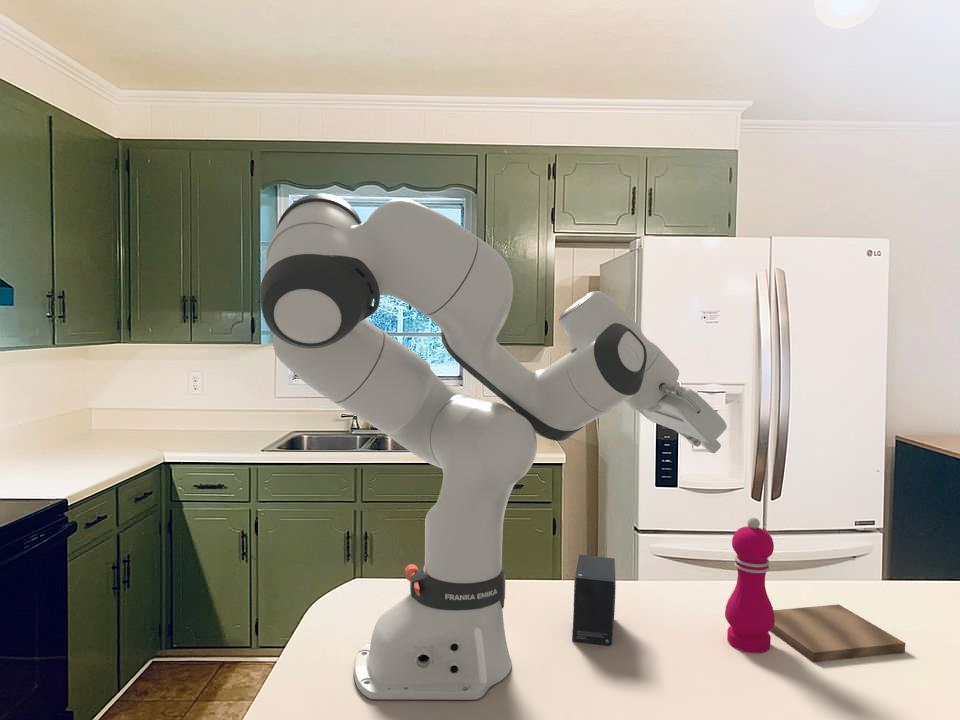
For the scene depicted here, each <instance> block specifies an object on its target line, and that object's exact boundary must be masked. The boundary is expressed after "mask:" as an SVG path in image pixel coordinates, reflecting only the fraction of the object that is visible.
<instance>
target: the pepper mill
mask: <svg viewBox="0 0 960 720" xmlns="http://www.w3.org/2000/svg"><path fill="white" fill-rule="evenodd" d="M760 525H761V523H760V520H759V519H758V518H757V517H749V518H748V519H747V525H746V526H742V527H740V528H738V529H736V531H735V532H734V533H733V536H732V539H731V546H732V549H733V551H734V552H735V554H736V555H735V556H734V560H735V562H734V563H733V564H734V566H735V567H736V569H737V577H736V578H737V579H736V584H735V587H734V588H733V591H732V593H731V594H730V596H729V598H728V600H727V603H726V605H725V611H724V618H725V620H726V622H727V624H728V625H729V626H728V628H727V632H726V633H727V634H726V635H727V637H726V638H727V642H728V644H729V645H730V646H732V647H733V648H734V649H736V650H739V651H742V652H746V653H752V654H761V653H766V652H768V651H770V649H771V641H772V637H771V634H770V633H769V632H771V631H770V630H771V629H772V628H773V627H774V624H775V615H774V611H773V610H774V608H773V605H772V603H771V602H772V601H771V600H770V598H769V595H768V593H767V590H766V589H767V588H766V573H767V572H769V570H770V566H769V565H770V560H769V558H770V556H772V555H773V553H774V549H775V548H774V547H775V545H774V541H773V537H772V536H771V534H769V532H768V531H766V530H765V529H764V528H761V527H760Z"/></svg>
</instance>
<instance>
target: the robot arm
mask: <svg viewBox="0 0 960 720" xmlns="http://www.w3.org/2000/svg"><path fill="white" fill-rule="evenodd" d="M265 260H266V263H265V268H264V274H263V275H264V276H263V277H262V280H261V284H260V288H259V302H260V303H259V304H260V310H261V313H262V317H263V320H264V322H265V323H266V325H267V327H268V328H269V329H270V331H271V332H272V333H273V337H272V346H273V350H274V353H275V355H276V357H277V358H278V359H279V361H280V362H281V363H283V364H284V366H285V367H286V368H287V369H289V371H291V372H292V373H293V374H294V375H295V376H297V377H298V378H299V379H300V380H301V381H303V382H304V383H305V384H307V385H308V387H311V388H312V389H313V390H315V391H316V392H317V393H318V394H319V395H321V396H323V397H325V398H326V399H328V400H329V401H331V402H333V403H335V404H336V405H338V406H340V407H341V408H343V409H344V410H346V411H348V412H349V413H350V414H353V416H356V417H358V418H359V419H361V420H363V422H366V423H367V424H369V425H370V426H372V427H374V428H376V429H377V430H378V431H380V432H382V433H383V434H385V435H386V436H387V437H389V438H390V439H392V440H393V441H394V442H395V443H397V444H398V445H400V446H401V447H402V448H404V449H405V450H408V452H410V453H412V454H413V455H415V456H416V457H418V458H419V459H421V460H422V461H424V462H426V463H428V464H430V465H432V466H434V467H437V468H439V469H442V475H443V476H442V483H441V487H440V491H439V495H438V498H437V500H436V503H435V504H434V505H433V506H431V508H429V510H428V511H427V514H426V516H425V520H424V565H423V566H422V567H421V568H420V569H419V568H418V566H417V565H416V564H413V563H412V564H411V563H410V564H408V565H406V567H405V568H404V575H405V578H406V580H407V581H409V584H410V585H409V588H410V591H409V594H407V596H405V597H404V598H402V600H400V601H399V602H397V603H396V604H395V605H393V606H392V607H390V608H389V609H388V610H387V611H385V612H384V613H383V614H381V615H380V616H379V617H378V619H377V621H376V622H375V625H374V628H373V631H372V635H371V639H370V642H369V643H366V644H364V645H362V647H361V648H360V649H359V650H358V652H357V653H356V656H355V659H354V664H353V665H354V666H353V677H354V682H355V684H356V687H357V688H358V690H359V691H360V693H361V694H362V695H364V696H365V697H367V698H368V699H371V700H435V701H436V700H440V701H441V700H443V701H444V700H449V701H450V700H458V701H459V700H460V701H461V700H462V701H463V700H464V701H465V700H467V701H468V700H469V701H471V700H472V701H473V700H479V699H481V698H483V696H485V694H486V693H487V692H488V690H489V689H490V688H491V687H492V686H493V685H495V684H498V683H499V682H501V681H502V680H504V679H505V678H506V677H507V676H508V675H509V673H510V672H511V670H512V658H511V656H510V652H509V648H508V644H507V638H506V631H505V624H504V614H503V612H504V611H503V609H504V607H505V599H506V576H505V569H504V568H503V537H504V536H503V535H504V533H503V531H504V521H505V520H504V519H505V514H506V509H507V505H508V501H509V499H510V495H511V494H512V490H513V488H514V487H515V485H516V484H517V482H518V481H520V480H521V479H522V478H524V476H526V474H527V473H528V472H529V471H530V470H531V468H532V466H533V464H534V461H535V458H536V456H537V450H538V440H537V435H538V436H540V437H543V438H545V439H548V440H552V441H555V442H560V441H561V442H562V441H565V440H568V439H569V438H570V437H572V436H574V434H576V433H577V432H579V431H580V430H582V428H584V427H585V426H586V425H588V424H590V423H592V422H594V421H595V420H596V419H599V418H601V417H602V416H604V415H605V414H607V413H609V412H610V411H612V410H613V409H615V408H616V407H618V406H620V405H621V404H623V403H625V404H627V406H629V408H631V409H632V410H633V411H638V413H640V414H641V415H642V416H643V417H644V418H646V419H647V420H649V421H650V422H652V423H655V424H657V425H660V426H663V427H665V428H668V429H670V430H673V431H675V432H676V433H678V434H679V435H681V436H682V437H683V438H684V439H686V441H688V442H689V443H690V444H691V445H692V446H694V447H700V446H701V445H702V447H703V448H704V449H705V450H706V451H707V452H710V453H712V454H716V453H717V452H718V451H719V450H720V449H721V446H722V445H721V443H720V442H719V441H718V440H717V439H718V438H719V437H721V436H722V434H723V433H724V432H725V431H726V430H727V429H728V428H727V427H728V426H727V423H726V421H725V419H724V418H722V416H721V415H720V414H719V413H718V412H717V411H716V410H715V409H714V408H713V407H712V406H711V405H710V404H709V403H708V402H707V401H706V400H705V399H704V398H703V397H702V396H700V395H699V393H697V392H696V391H694V390H692V389H691V388H688V387H684V386H681V384H680V382H679V381H678V380H679V376H680V370H679V369H678V368H677V365H675V364H674V363H673V361H671V359H669V358H668V356H667V355H666V353H664V352H663V351H662V350H661V348H660V347H658V345H656V343H653V342H652V341H650V340H649V339H648V338H647V337H646V336H645V334H644V333H643V331H642V329H641V327H640V325H639V324H638V323H637V322H636V321H635V320H634V319H633V317H632V316H630V315H629V313H627V312H626V311H625V309H624V308H623V307H621V306H620V304H618V302H615V301H614V300H613V298H611V297H609V295H607V294H605V293H604V292H602V291H600V290H595V291H594V290H593V291H590V292H588V293H587V294H585V295H584V296H583V297H581V298H580V299H578V300H577V301H576V302H575V303H573V304H572V305H571V306H568V308H566V310H564V311H563V312H562V313H561V315H560V317H559V319H558V321H557V322H558V325H559V327H560V328H561V329H562V331H563V332H564V334H565V335H566V336H567V337H568V339H569V341H570V347H569V352H568V353H567V354H565V355H563V356H562V357H560V358H559V359H557V360H556V361H555V362H553V363H551V364H550V365H549V366H546V367H545V368H541V369H537V370H535V369H534V370H533V369H532V370H531V369H528V368H527V367H525V366H524V365H523V364H522V362H520V361H519V360H518V359H517V358H516V357H514V356H513V354H511V353H510V352H509V351H507V349H505V347H503V346H502V345H501V344H500V343H499V342H498V341H497V337H498V335H499V334H500V331H501V330H502V328H503V326H504V325H505V323H506V321H507V319H508V316H509V314H510V313H509V312H510V310H511V306H512V302H513V295H514V279H513V275H512V271H511V269H510V266H509V264H508V263H507V261H506V260H505V259H504V258H503V256H502V255H501V254H500V253H499V252H498V251H497V250H496V249H495V248H493V247H492V246H491V245H490V244H488V243H487V242H486V241H484V240H483V239H481V238H480V237H478V236H477V235H475V234H474V233H473V232H471V231H469V230H468V229H466V228H465V227H464V226H462V225H461V224H459V223H458V222H456V221H454V220H453V219H450V218H449V217H447V216H445V215H444V214H442V213H440V212H438V211H436V210H433V209H432V208H430V207H428V206H425V205H423V204H421V203H418V202H416V201H414V200H412V199H409V198H399V197H398V198H394V199H391V200H388V201H386V202H384V203H383V204H381V205H380V206H379V207H377V208H376V209H375V210H374V211H373V212H372V213H371V214H370V215H369V216H368V218H367V219H366V220H364V221H363V222H362V220H361V218H360V216H359V214H358V213H357V211H356V210H355V209H354V208H353V207H352V205H350V204H349V203H348V202H347V201H345V200H344V199H343V198H341V197H338V196H335V195H334V194H327V193H313V194H308V195H305V196H302V197H300V198H299V199H297V200H296V201H294V202H293V203H292V204H290V205H289V206H288V207H287V208H286V210H284V212H283V214H282V215H281V216H280V218H279V220H278V223H277V227H276V229H275V231H274V234H273V236H272V238H271V241H270V243H269V246H268V249H267V252H266V258H265ZM381 296H388V297H389V296H390V297H393V298H396V299H399V300H400V301H401V302H404V303H405V304H407V305H408V306H410V307H412V308H413V309H415V310H416V311H418V312H420V313H421V314H423V315H424V316H426V317H427V318H429V319H430V320H431V321H432V322H434V323H435V324H436V325H437V327H438V328H439V329H440V331H441V332H440V333H441V335H440V337H441V342H442V344H443V347H444V349H445V350H446V351H447V352H448V354H449V355H450V356H451V357H452V358H453V359H454V361H455V362H457V364H459V365H460V367H462V368H463V369H464V370H465V371H467V372H468V373H469V374H470V375H471V376H473V377H474V378H475V379H476V380H477V381H479V382H480V384H482V385H483V386H485V388H487V389H488V390H489V391H491V392H492V393H493V394H495V395H496V396H497V397H498V398H499V399H501V400H502V401H503V402H504V403H506V405H505V404H504V403H501V402H497V401H496V402H495V401H492V400H487V399H486V400H485V399H481V398H477V397H474V396H470V395H467V394H465V393H461V392H459V391H457V390H456V389H453V388H452V387H450V385H448V384H446V382H444V381H443V380H442V379H441V378H440V377H439V376H438V375H437V374H436V373H435V372H434V371H433V370H432V369H431V366H430V363H428V362H427V361H426V360H425V359H424V358H423V357H421V356H420V355H418V354H417V353H415V352H414V351H412V350H411V349H410V348H408V346H406V345H404V344H402V343H401V342H400V341H398V340H397V339H396V338H394V337H392V336H391V335H390V334H388V333H387V332H386V331H384V330H382V329H381V328H380V327H378V326H377V325H375V324H374V323H372V322H371V321H369V320H368V317H370V316H372V315H374V313H375V312H377V311H378V309H379V306H380V301H381ZM507 405H508V406H507Z"/></svg>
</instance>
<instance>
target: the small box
mask: <svg viewBox="0 0 960 720" xmlns="http://www.w3.org/2000/svg"><path fill="white" fill-rule="evenodd" d="M573 582H574V584H573V585H574V586H573V587H574V588H573V617H572V632H571V633H572V637H571V641H572V642H576V643H577V642H578V643H585V644H586V643H587V644H594V645H603V646H611V645H612V643H613V634H614V623H615V611H616V608H615V607H616V592H617V591H616V587H617V585H616V584H617V583H616V560H615V558H613V557H606V556H595V555H586V554H578V558H577V561H576V567H575V574H574V581H573Z"/></svg>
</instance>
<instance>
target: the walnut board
mask: <svg viewBox="0 0 960 720" xmlns="http://www.w3.org/2000/svg"><path fill="white" fill-rule="evenodd" d="M773 611H774V615H775V624H774V627H773V628H772V629H771V630H770V631H769V632H771V633H772V634H773V635H775V636H776V637H778V638H779V639H780V640H782V642H785V643H786V644H787V645H788V646H790V647H791V648H793V649H794V650H795V651H796V652H798V653H800V655H802V656H804V657H805V658H806V659H808V660H809V661H810V662H812V663H819V662H829V661H831V662H832V661H839V660H847V659H855V658H856V659H857V658H858V659H859V658H866V657H876V656H885V655H895V654H896V655H897V654H904V653H906V642H904V641H903V640H901V639H899V638H898V637H896V636H895V635H893V634H891V633H889V632H888V631H885V630H884V629H882V628H881V627H878V626H877V625H875V624H873V623H872V622H870V621H868V620H866V619H865V618H864V617H861V616H859V615H858V614H857V613H855V612H854V611H853V612H852V611H851V610H849V609H848V608H846V607H844V606H843V605H841V604H839V603H838V604H828V605H817V606H807V607H806V606H805V607H795V608H786V609H785V608H784V609H783V608H782V609H773Z"/></svg>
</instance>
